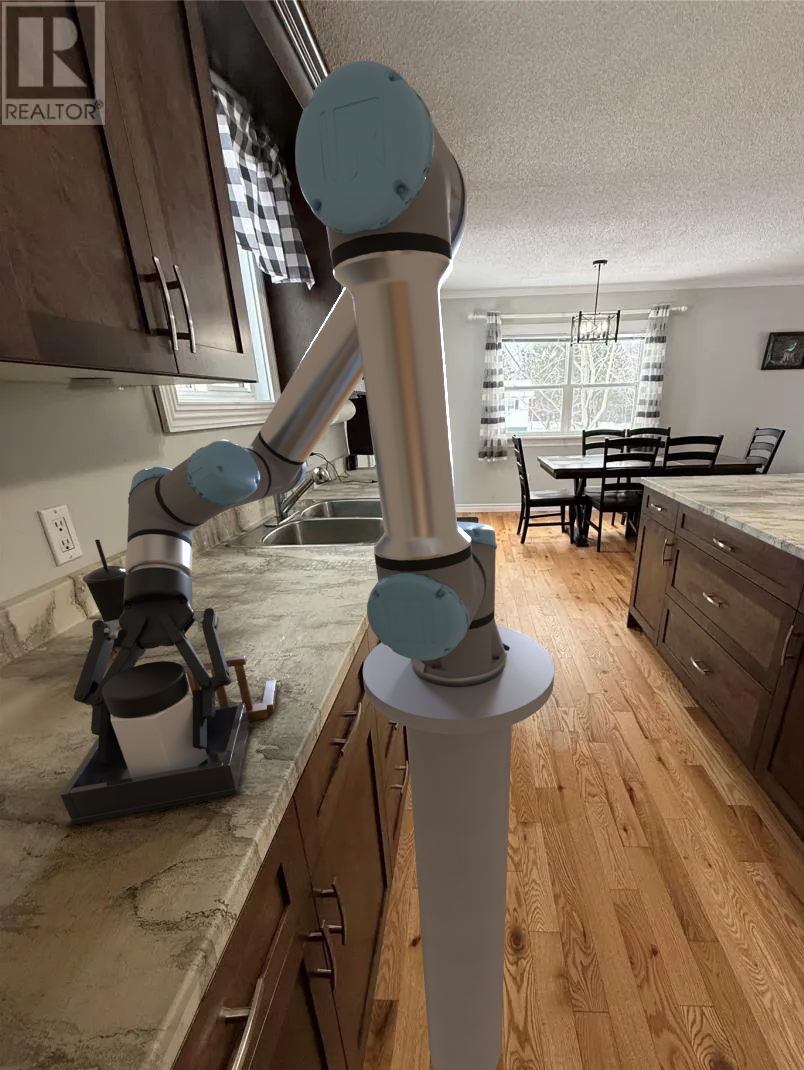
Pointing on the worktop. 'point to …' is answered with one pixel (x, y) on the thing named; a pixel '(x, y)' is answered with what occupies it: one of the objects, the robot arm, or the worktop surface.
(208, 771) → the rectangular tray
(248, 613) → the worktop surface
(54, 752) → the worktop surface
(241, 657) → the drying rack
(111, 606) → the drinking cup
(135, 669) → the jar
